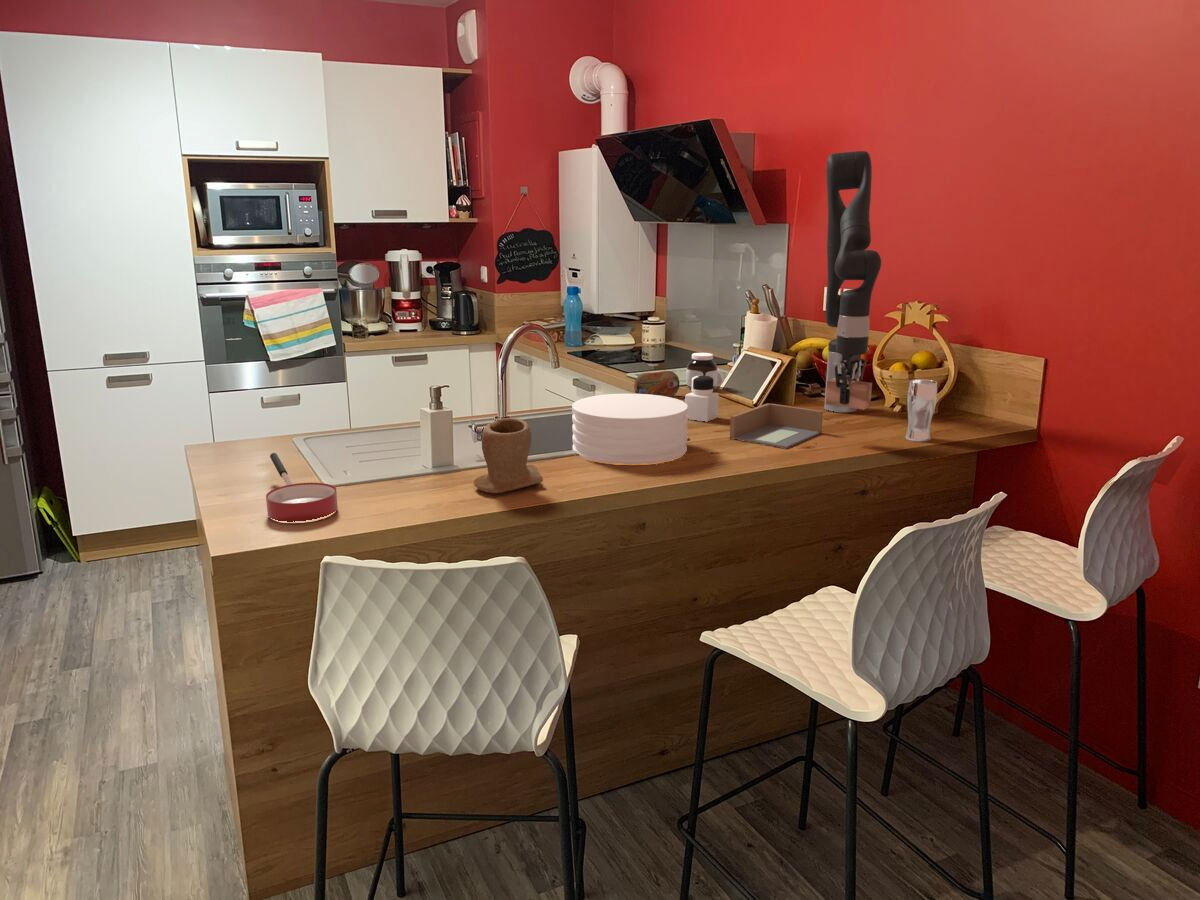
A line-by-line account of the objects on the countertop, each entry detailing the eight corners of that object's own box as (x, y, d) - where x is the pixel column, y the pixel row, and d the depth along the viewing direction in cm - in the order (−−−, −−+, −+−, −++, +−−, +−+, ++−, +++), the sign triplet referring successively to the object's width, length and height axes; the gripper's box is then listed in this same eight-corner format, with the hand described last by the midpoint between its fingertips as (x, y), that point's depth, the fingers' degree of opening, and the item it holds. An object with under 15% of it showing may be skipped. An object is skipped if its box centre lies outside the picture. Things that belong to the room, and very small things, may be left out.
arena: (767, 424, 246) (768, 403, 245) (821, 433, 237) (822, 411, 235) (729, 438, 231) (730, 416, 229) (786, 448, 221) (787, 425, 220)
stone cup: (494, 502, 182) (492, 430, 178) (466, 487, 191) (464, 419, 187) (557, 488, 191) (556, 420, 187) (527, 475, 200) (526, 409, 196)
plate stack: (638, 431, 240) (638, 389, 237) (710, 453, 218) (712, 407, 215) (550, 447, 223) (549, 402, 220) (619, 473, 202) (619, 424, 199)
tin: (637, 401, 276) (637, 374, 274) (632, 399, 279) (632, 372, 277) (679, 396, 282) (680, 370, 280) (674, 395, 285) (675, 368, 283)
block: (832, 401, 229) (833, 378, 227) (870, 406, 223) (872, 382, 221) (825, 404, 226) (827, 380, 224) (863, 409, 220) (865, 385, 218)
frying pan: (233, 487, 191) (229, 459, 190) (294, 477, 199) (291, 449, 197) (280, 530, 167) (276, 497, 165) (348, 516, 174) (345, 485, 172)
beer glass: (928, 435, 234) (934, 379, 230) (935, 442, 227) (941, 384, 223) (901, 435, 235) (906, 378, 231) (907, 442, 228) (912, 383, 224)
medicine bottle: (718, 417, 254) (719, 375, 251) (707, 422, 248) (708, 379, 245) (695, 414, 258) (696, 373, 255) (684, 419, 252) (685, 377, 249)
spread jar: (685, 391, 290) (685, 355, 287) (687, 384, 301) (688, 350, 298) (722, 392, 288) (723, 356, 285) (723, 386, 299) (724, 351, 296)
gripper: (850, 328, 227) (845, 395, 232) (826, 335, 216) (821, 405, 221) (878, 331, 222) (873, 399, 227) (855, 338, 212) (850, 409, 216)
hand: (847, 401), depth 224 cm, fingers closed on block, 4 cm apart
